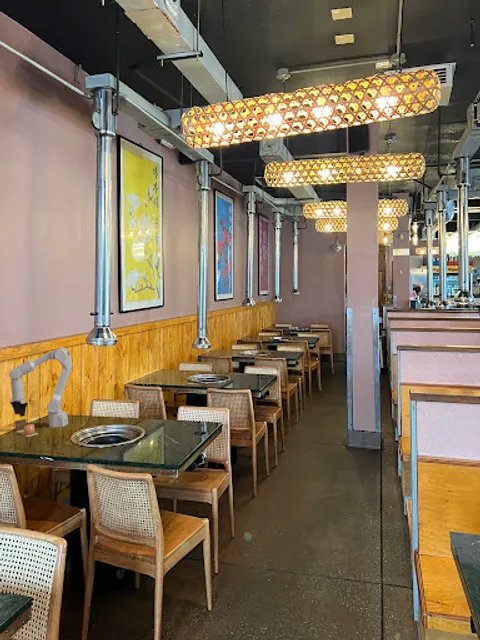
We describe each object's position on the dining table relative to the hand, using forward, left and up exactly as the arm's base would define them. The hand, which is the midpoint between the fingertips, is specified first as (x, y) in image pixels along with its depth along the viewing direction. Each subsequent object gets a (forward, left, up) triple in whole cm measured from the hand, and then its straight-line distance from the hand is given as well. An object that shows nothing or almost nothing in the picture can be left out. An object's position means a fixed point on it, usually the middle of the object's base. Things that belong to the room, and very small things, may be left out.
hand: (19, 415), depth 263 cm
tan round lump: (-10, +8, -8) cm, 15 cm away
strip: (-6, +5, -9) cm, 12 cm away
